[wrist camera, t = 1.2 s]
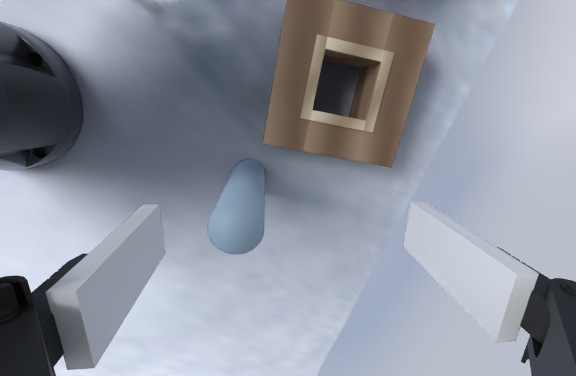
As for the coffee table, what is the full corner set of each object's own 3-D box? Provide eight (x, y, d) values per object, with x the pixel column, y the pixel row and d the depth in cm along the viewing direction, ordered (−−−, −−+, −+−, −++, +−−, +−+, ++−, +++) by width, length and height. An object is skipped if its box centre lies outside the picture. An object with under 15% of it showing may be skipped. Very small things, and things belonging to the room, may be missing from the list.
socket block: (263, 137, 34) (262, 144, 28) (285, 8, 30) (289, -15, 24) (371, 157, 36) (392, 168, 30) (405, 38, 32) (436, 23, 26)
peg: (230, 187, 36) (204, 250, 20) (235, 156, 35) (210, 199, 19) (262, 192, 36) (259, 257, 21) (267, 162, 35) (268, 207, 20)
